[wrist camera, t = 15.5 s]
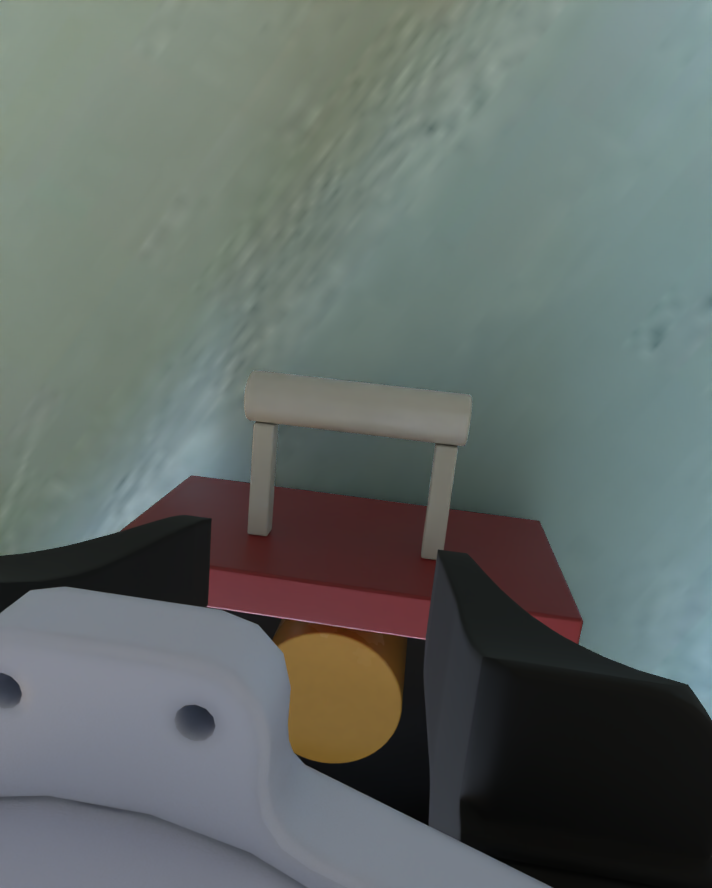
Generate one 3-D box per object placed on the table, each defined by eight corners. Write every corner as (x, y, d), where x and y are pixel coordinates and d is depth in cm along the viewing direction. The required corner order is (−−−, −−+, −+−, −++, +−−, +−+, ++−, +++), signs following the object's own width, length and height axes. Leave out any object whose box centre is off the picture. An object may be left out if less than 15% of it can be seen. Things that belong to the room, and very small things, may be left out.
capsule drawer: (194, 343, 22) (92, 368, 15) (564, 384, 21) (623, 430, 14) (180, 785, 27) (97, 949, 20) (483, 838, 25) (499, 1032, 19)
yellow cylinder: (280, 674, 23) (249, 751, 20) (288, 563, 22) (257, 622, 18) (400, 693, 23) (393, 775, 19) (414, 581, 22) (410, 645, 18)
